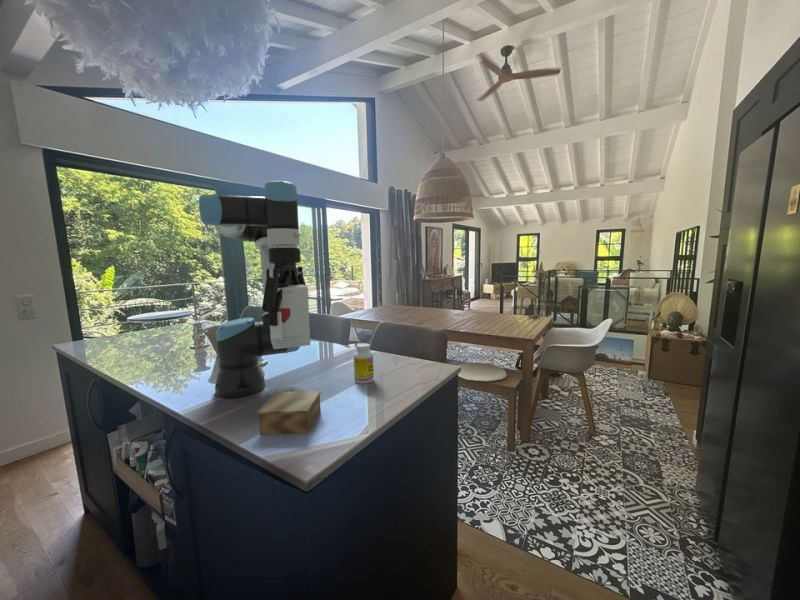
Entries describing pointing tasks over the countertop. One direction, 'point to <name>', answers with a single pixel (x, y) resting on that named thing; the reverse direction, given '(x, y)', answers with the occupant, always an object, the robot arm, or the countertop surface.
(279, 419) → the walnut box
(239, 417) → the countertop surface
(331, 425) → the countertop surface
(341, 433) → the countertop surface
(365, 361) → the supplement bottle
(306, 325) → the supplement box
